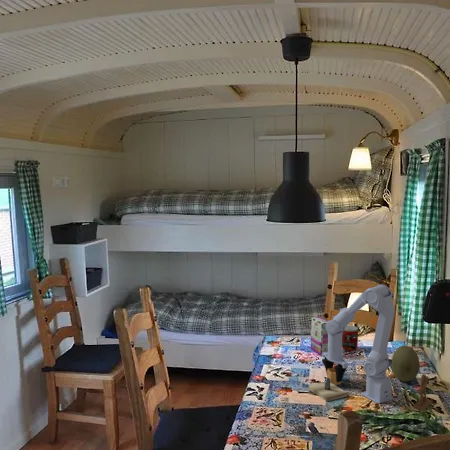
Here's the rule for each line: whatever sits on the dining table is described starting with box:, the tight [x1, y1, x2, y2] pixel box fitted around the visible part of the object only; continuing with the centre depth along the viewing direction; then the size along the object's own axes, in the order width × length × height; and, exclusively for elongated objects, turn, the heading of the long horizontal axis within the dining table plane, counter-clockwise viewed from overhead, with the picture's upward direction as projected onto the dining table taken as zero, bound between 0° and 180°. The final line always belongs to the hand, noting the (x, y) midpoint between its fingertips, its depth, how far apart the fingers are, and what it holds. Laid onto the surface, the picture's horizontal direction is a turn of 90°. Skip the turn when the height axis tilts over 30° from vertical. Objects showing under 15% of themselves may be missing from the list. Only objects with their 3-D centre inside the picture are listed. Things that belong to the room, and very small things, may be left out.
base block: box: [307, 381, 348, 402], centre depth 193 cm, size 12×10×2 cm
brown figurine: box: [412, 374, 433, 412], centre depth 181 cm, size 9×4×12 cm, turn 138°
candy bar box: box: [310, 316, 329, 357], centre depth 237 cm, size 11×5×16 cm, turn 17°
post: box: [324, 377, 330, 390], centre depth 193 cm, size 2×2×5 cm
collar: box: [326, 367, 343, 386], centre depth 203 cm, size 6×6×5 cm
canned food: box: [342, 325, 359, 353], centre depth 241 cm, size 8×8×11 cm
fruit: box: [391, 345, 421, 383], centre depth 204 cm, size 11×11×15 cm
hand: (334, 378), depth 203 cm, fingers closed on collar, 6 cm apart
